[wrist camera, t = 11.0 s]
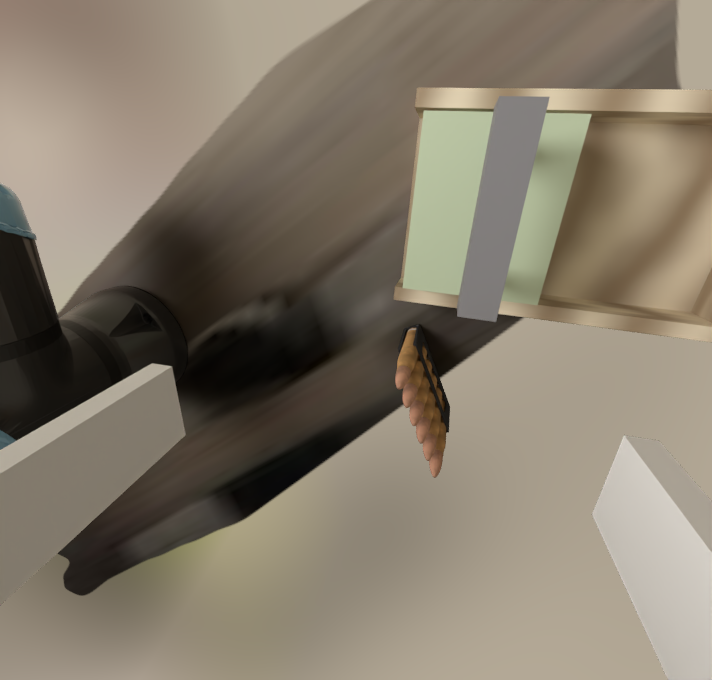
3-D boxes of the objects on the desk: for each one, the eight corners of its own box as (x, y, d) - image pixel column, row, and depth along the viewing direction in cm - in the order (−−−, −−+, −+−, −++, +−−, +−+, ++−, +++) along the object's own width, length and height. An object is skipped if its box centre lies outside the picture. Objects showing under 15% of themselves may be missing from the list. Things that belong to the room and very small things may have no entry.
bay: (401, 286, 36) (393, 299, 32) (422, 104, 30) (417, 87, 25) (692, 323, 31) (734, 345, 26) (793, 110, 25) (872, 91, 20)
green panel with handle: (411, 271, 34) (382, 322, 20) (430, 128, 29) (408, 68, 15) (521, 283, 32) (572, 351, 18) (559, 132, 27) (670, 66, 13)
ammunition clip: (403, 328, 38) (383, 380, 27) (419, 323, 37) (406, 375, 27) (434, 410, 41) (427, 487, 30) (450, 407, 40) (448, 484, 29)
